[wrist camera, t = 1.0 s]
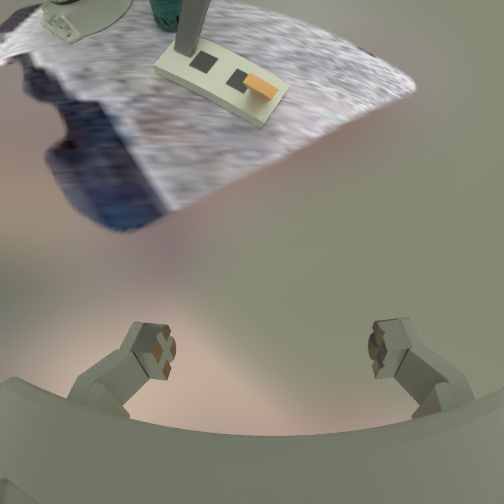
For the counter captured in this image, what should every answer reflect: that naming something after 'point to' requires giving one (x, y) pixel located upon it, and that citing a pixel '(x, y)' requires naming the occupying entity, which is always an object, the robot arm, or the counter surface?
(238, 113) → the cream base with pads
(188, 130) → the counter surface
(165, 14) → the beverage bottle
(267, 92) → the orange bar
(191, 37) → the bar
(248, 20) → the counter surface
